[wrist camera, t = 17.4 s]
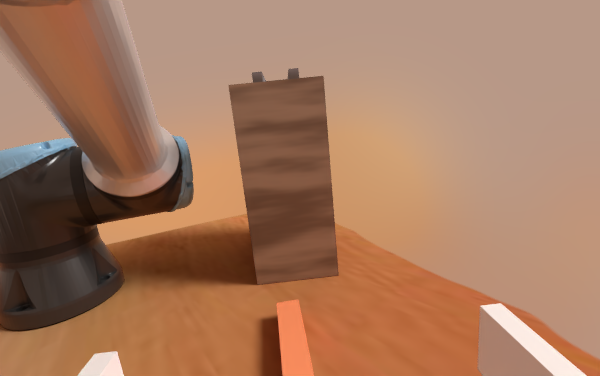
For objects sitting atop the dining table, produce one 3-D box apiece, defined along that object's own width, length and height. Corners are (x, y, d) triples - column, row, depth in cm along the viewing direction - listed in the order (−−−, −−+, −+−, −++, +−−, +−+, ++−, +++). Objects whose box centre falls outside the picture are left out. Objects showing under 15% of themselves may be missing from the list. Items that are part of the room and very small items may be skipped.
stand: (338, 275, 44) (322, 59, 37) (257, 284, 44) (226, 68, 37) (323, 231, 62) (309, 78, 55) (265, 237, 61) (244, 84, 55)
